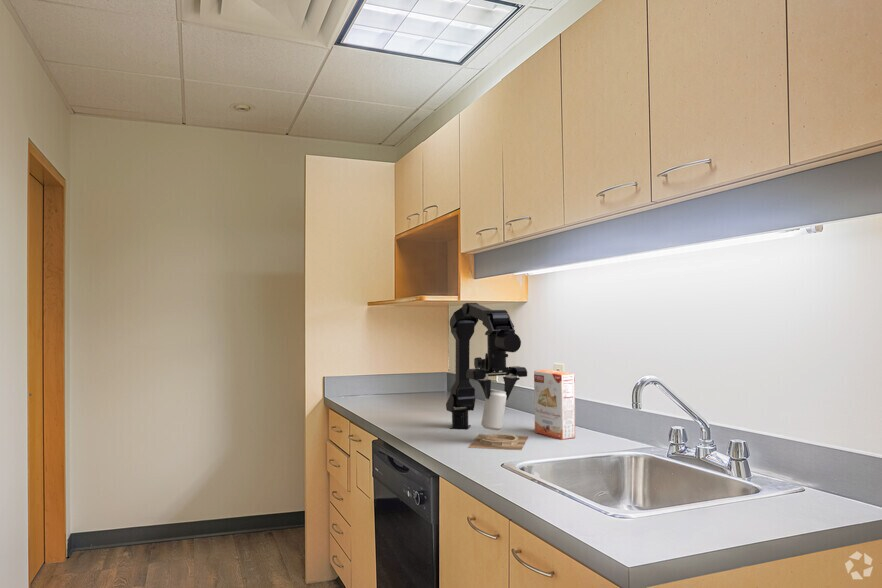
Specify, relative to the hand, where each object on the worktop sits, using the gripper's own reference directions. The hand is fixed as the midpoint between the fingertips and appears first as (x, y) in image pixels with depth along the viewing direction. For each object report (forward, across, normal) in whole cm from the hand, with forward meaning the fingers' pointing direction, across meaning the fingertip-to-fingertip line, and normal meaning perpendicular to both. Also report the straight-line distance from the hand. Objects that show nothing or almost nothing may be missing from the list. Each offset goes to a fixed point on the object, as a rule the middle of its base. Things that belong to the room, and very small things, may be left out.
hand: (497, 400), depth 201 cm
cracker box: (+13, -22, -2) cm, 26 cm away
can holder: (+13, 0, 0) cm, 13 cm away
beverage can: (+9, +2, 0) cm, 9 cm away
